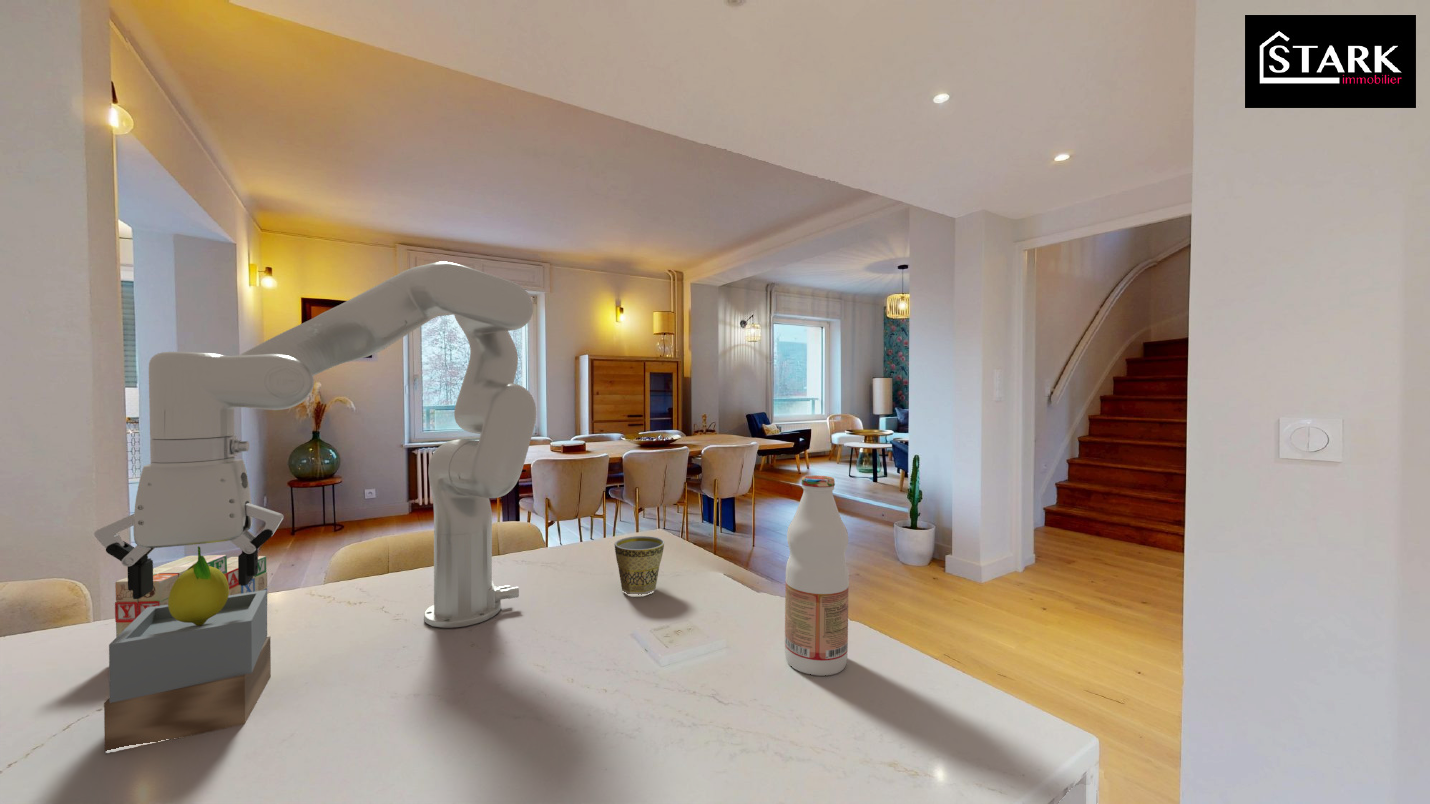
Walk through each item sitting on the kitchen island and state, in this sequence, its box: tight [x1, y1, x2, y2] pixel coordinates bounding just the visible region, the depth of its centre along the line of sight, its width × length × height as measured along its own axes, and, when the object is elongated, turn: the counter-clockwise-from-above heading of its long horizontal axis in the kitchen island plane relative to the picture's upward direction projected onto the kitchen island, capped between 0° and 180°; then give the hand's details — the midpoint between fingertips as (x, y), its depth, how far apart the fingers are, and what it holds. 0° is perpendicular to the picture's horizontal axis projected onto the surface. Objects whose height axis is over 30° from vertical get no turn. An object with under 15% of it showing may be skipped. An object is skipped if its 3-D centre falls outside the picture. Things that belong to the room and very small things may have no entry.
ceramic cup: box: [614, 535, 665, 595], centre depth 111 cm, size 13×10×10 cm
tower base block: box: [103, 636, 272, 752], centre depth 67 cm, size 12×12×6 cm
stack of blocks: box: [114, 554, 268, 637], centre depth 90 cm, size 21×6×12 cm, turn 5°
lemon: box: [168, 546, 229, 626], centre depth 67 cm, size 7×6×10 cm
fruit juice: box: [784, 474, 850, 677], centre depth 81 cm, size 9×9×28 cm
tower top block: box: [108, 589, 268, 703], centre depth 67 cm, size 12×12×6 cm
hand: (196, 588), depth 67 cm, fingers open, 9 cm apart
